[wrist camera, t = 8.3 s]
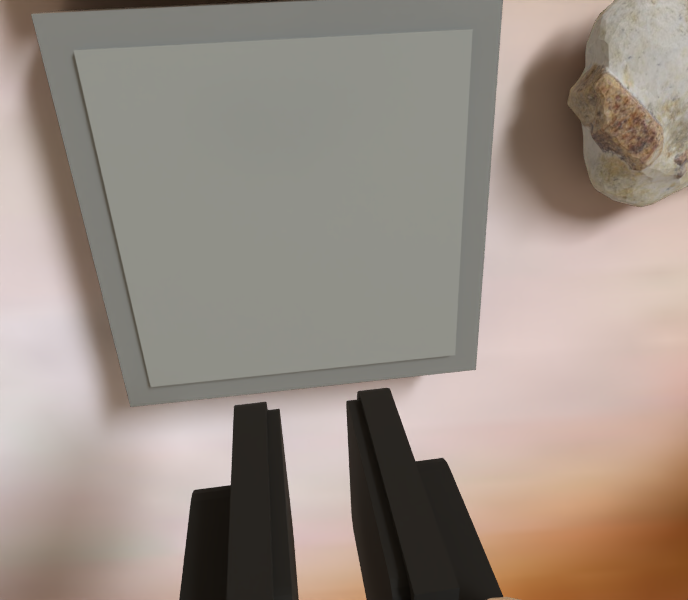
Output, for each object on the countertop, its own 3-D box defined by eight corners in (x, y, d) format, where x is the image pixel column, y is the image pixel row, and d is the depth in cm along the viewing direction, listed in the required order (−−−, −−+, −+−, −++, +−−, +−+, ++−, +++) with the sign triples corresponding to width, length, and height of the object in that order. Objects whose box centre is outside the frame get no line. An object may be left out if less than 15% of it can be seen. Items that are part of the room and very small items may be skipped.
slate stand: (472, -9, 21) (506, -9, 18) (454, 333, 28) (477, 373, 25) (61, 10, 20) (28, 14, 17) (143, 365, 26) (129, 410, 24)
